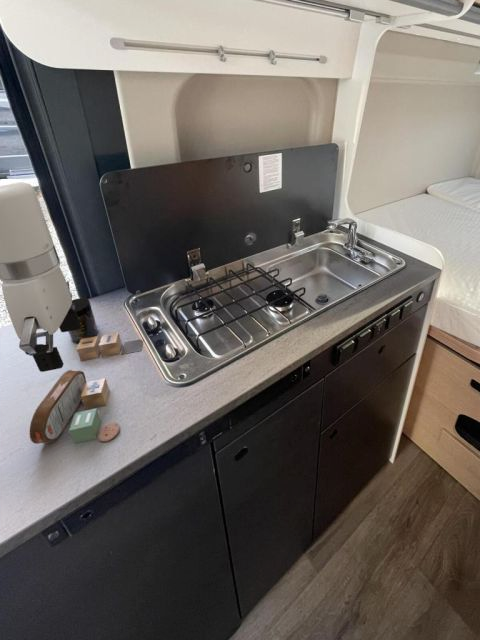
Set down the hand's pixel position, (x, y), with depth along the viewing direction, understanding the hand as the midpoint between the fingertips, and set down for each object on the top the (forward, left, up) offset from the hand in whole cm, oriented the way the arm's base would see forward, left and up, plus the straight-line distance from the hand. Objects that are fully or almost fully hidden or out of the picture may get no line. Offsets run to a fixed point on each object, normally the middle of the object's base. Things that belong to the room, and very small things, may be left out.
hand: (62, 347), depth 57 cm
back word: (-1, +25, -23) cm, 34 cm away
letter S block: (-1, +1, -23) cm, 23 cm away
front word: (-1, +9, -23) cm, 24 cm away
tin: (-7, +6, -23) cm, 25 cm away
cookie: (+3, -1, -23) cm, 23 cm away
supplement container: (-10, +33, -23) cm, 42 cm away
